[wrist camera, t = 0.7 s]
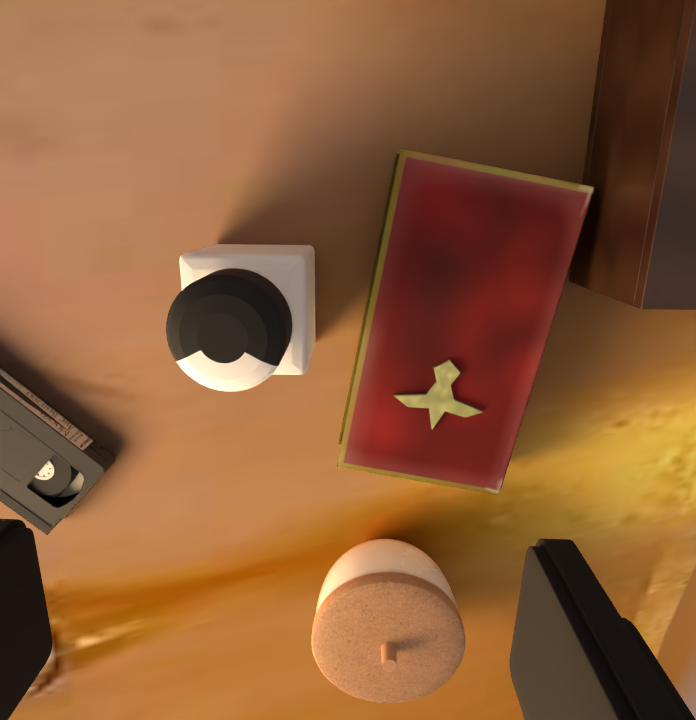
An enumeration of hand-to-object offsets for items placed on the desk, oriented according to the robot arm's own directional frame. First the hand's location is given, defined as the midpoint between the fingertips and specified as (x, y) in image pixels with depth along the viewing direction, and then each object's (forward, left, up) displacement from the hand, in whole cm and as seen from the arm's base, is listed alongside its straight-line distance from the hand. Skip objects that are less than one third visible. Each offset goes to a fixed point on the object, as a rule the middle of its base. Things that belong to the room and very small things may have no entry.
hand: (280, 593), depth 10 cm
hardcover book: (+1, +8, -28) cm, 30 cm away
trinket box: (+22, +4, -28) cm, 36 cm away
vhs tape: (+10, -25, -28) cm, 39 cm away
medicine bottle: (-1, -5, -28) cm, 29 cm away
